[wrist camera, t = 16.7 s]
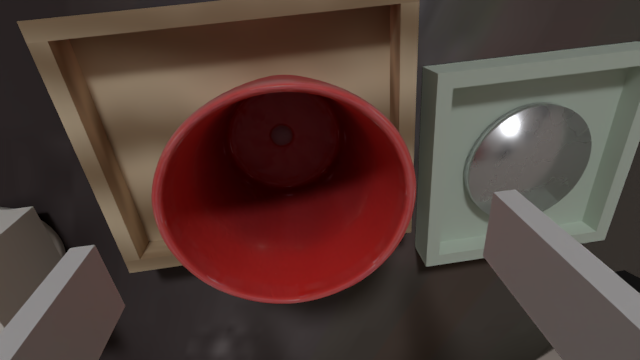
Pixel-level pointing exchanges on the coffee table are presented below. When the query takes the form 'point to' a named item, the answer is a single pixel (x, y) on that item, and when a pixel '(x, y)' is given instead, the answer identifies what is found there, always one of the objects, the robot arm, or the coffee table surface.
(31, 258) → the white faceted planter
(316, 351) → the coffee table surface
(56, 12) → the coffee table surface
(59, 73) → the wooden tray
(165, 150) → the flower pot
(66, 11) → the coffee table surface
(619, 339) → the robot arm
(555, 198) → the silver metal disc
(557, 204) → the pale green square tray
